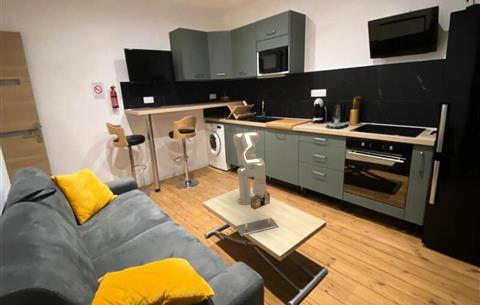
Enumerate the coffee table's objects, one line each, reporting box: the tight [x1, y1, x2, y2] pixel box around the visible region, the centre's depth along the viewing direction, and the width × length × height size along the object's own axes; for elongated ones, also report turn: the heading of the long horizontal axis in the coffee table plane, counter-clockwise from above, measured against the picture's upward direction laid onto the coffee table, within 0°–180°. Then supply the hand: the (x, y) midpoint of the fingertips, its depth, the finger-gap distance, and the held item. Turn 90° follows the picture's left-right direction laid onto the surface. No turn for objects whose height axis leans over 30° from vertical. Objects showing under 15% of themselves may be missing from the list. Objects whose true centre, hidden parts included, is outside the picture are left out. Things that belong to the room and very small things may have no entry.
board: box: [235, 217, 280, 237], centre depth 167 cm, size 13×28×6 cm, turn 109°
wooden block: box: [250, 191, 271, 211], centre depth 165 cm, size 4×14×8 cm, turn 126°
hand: (260, 203), depth 166 cm, fingers closed on wooden block, 4 cm apart
